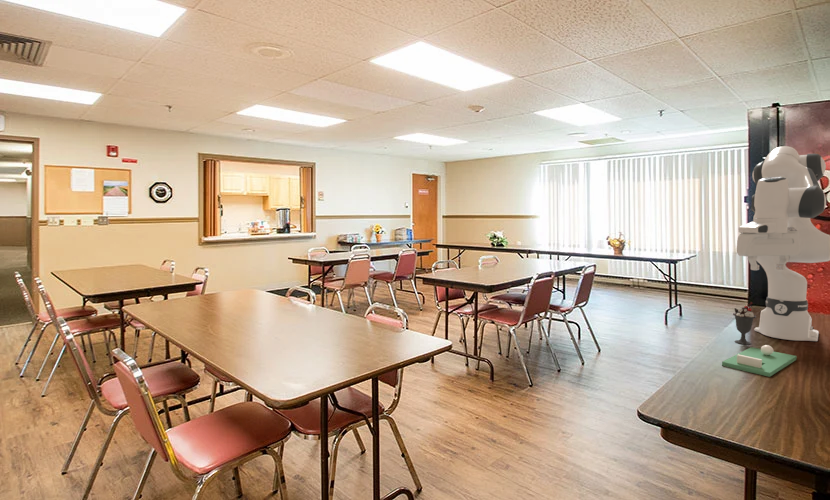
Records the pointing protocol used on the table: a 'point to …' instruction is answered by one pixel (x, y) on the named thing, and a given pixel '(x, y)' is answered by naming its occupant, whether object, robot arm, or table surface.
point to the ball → (767, 350)
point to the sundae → (744, 322)
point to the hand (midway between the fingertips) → (767, 269)
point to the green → (759, 361)
